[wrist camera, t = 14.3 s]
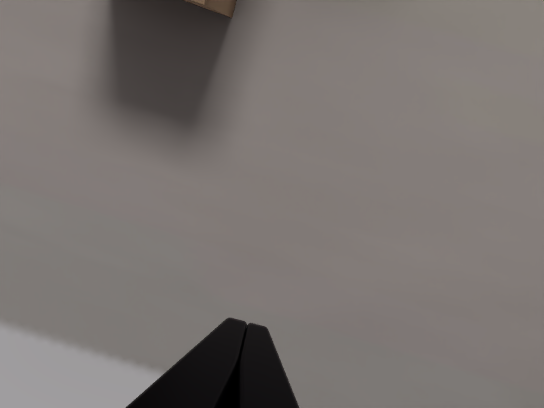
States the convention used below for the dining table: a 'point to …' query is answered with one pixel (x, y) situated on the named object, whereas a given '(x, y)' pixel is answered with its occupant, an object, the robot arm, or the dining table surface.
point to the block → (216, 6)
